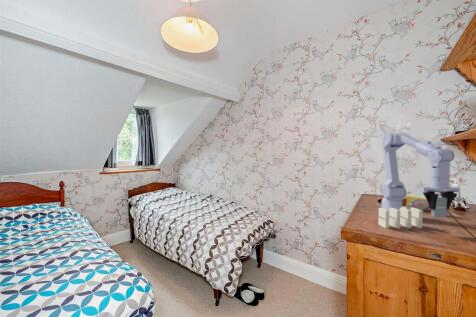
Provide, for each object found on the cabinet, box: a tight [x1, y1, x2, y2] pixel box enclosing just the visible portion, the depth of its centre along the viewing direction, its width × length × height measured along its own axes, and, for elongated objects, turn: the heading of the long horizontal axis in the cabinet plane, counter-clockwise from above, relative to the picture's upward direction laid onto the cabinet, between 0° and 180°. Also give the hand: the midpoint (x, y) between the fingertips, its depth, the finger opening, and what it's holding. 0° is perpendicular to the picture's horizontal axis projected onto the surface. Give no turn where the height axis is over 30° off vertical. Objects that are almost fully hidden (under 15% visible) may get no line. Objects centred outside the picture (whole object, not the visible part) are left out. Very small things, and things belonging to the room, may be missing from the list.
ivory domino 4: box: [410, 208, 424, 229], centre depth 100 cm, size 2×5×8 cm, turn 0°
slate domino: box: [430, 197, 448, 218], centre depth 92 cm, size 2×5×8 cm, turn 89°
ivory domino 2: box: [389, 208, 401, 229], centre depth 100 cm, size 2×5×8 cm, turn 0°
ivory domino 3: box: [400, 207, 412, 229], centre depth 100 cm, size 2×5×8 cm, turn 0°
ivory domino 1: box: [378, 207, 390, 229], centre depth 100 cm, size 2×5×8 cm, turn 0°
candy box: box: [405, 195, 431, 215], centre depth 120 cm, size 16×2×8 cm, turn 37°
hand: (438, 209), depth 92 cm, fingers closed on slate domino, 5 cm apart
